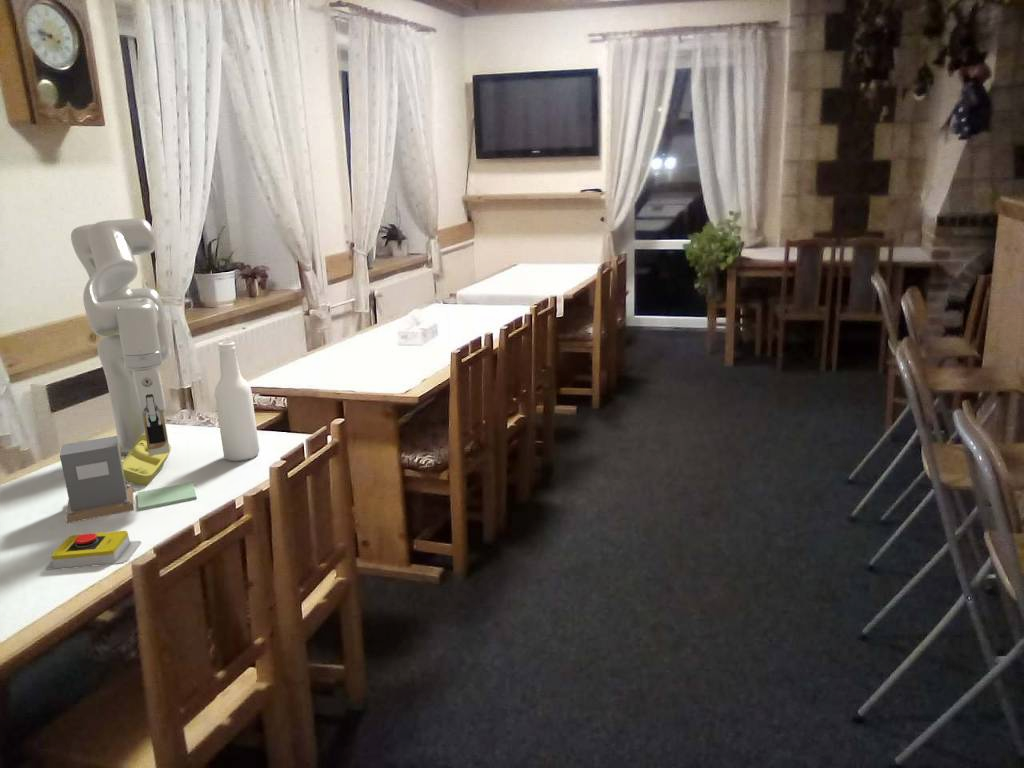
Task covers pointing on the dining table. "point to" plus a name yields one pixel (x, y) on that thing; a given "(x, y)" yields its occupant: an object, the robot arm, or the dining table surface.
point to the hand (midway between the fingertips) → (156, 437)
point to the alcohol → (235, 408)
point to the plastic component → (142, 463)
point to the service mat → (166, 496)
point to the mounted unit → (95, 479)
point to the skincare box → (157, 447)
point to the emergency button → (93, 550)
